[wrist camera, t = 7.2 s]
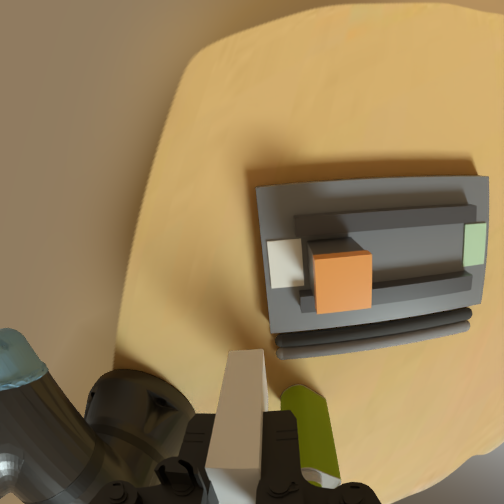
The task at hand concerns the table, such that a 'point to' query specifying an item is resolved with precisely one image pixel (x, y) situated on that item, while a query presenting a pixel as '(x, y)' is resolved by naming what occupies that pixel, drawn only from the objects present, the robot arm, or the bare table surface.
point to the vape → (313, 436)
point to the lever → (339, 275)
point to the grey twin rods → (372, 335)
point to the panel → (377, 244)
